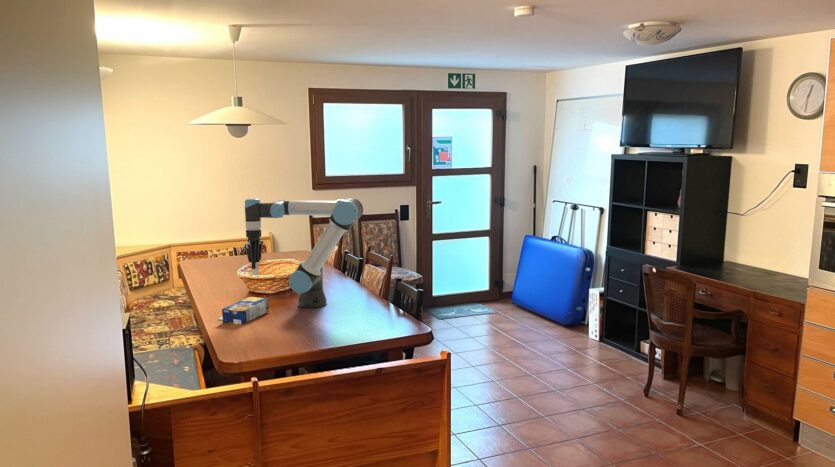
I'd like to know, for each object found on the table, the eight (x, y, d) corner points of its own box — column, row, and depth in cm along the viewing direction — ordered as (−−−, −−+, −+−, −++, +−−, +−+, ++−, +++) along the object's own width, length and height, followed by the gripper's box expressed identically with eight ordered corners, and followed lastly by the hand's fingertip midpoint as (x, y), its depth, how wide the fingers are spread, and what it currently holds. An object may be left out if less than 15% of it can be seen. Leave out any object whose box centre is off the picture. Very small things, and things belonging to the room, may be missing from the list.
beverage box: (268, 311, 298) (241, 325, 277) (250, 309, 302) (222, 322, 281) (268, 298, 297) (241, 311, 276) (249, 296, 300) (221, 308, 280)
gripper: (254, 227, 305) (256, 271, 308) (239, 230, 293) (241, 276, 296) (267, 227, 302) (269, 272, 306) (251, 231, 290) (254, 277, 294)
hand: (255, 274), depth 301 cm, fingers closed
